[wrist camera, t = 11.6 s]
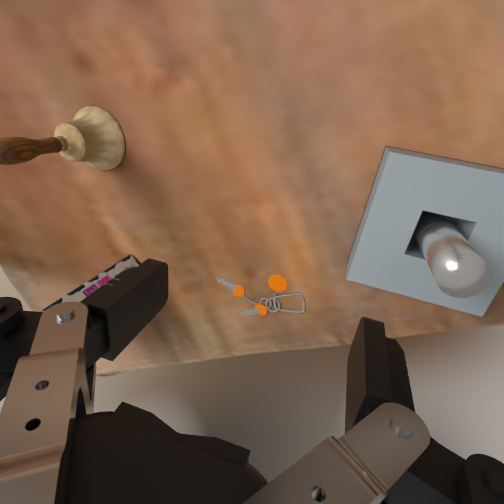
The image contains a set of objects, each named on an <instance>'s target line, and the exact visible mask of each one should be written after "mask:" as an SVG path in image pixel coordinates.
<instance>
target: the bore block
mask: <svg viewBox="0 0 504 504" xmlns="http://www.w3.org/2000/svg"><path fill="white" fill-rule="evenodd" d="M424 211H428V212H432V213H436V214H441V215H445V216H447V218H448V219H449V220H450V221H451V222H452V223H453V225H454V226H455V227H456V228H457V229H458V230H459V232H460V233H461V234H462V235H463V236H464V237H465V239H466V240H467V241H468V242H469V243H470V244H471V246H472V247H473V248H474V249H475V250H476V251H477V253H478V254H479V255H480V256H481V257H482V258H483V260H484V261H485V262H486V263H487V264H488V266H489V267H490V269H491V273H492V277H491V281H490V283H489V285H488V286H487V288H486V289H485V290H483V291H482V292H481V293H479V294H477V295H475V296H472V297H468V298H456V297H452V296H449V295H447V294H445V293H444V292H442V291H441V290H440V288H439V287H438V285H437V283H436V281H435V278H434V276H433V274H432V272H431V270H430V268H429V266H428V264H427V262H426V259H425V257H424V255H423V253H422V251H421V249H420V247H419V245H418V242H417V240H416V238H415V236H414V234H413V232H414V230H415V227H416V225H417V223H418V220H419V218H420V215H421V213H422V212H424ZM346 280H350V281H354V282H357V283H361V284H365V285H368V286H372V287H375V288H379V289H383V290H386V291H390V292H394V293H397V294H401V295H404V296H408V297H412V298H415V299H419V300H423V301H426V302H430V303H433V304H437V305H441V306H444V307H448V308H452V309H455V310H459V311H462V312H466V313H470V314H473V315H477V316H481V317H482V316H483V315H484V313H485V312H486V310H487V308H488V307H489V305H490V303H491V302H492V300H493V298H494V297H495V295H496V293H497V292H498V290H499V289H500V287H501V285H502V284H503V282H504V168H499V167H494V166H488V165H483V164H478V163H473V162H467V161H462V160H457V159H452V158H447V157H441V156H436V155H431V154H426V153H420V152H415V151H410V150H405V149H399V148H394V147H389V146H385V149H384V152H383V155H382V158H381V161H380V164H379V167H378V170H377V173H376V176H375V179H374V182H373V185H372V188H371V191H370V194H369V197H368V200H367V203H366V206H365V209H364V212H363V215H362V218H361V221H360V224H359V227H358V230H357V234H356V237H355V240H354V243H353V246H352V249H351V252H350V255H349V258H348V261H347V279H346Z"/></svg>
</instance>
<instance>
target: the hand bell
mask: <svg viewBox="0 0 504 504" xmlns="http://www.w3.org/2000/svg"><path fill="white" fill-rule="evenodd" d="M57 152H59V153H60V154H61V155H62V156H63V157H64V158H66V159H67V160H70V161H75V162H76V161H85V162H86V163H87V164H88V165H90V166H91V167H93V168H95V169H98V170H102V171H108V170H112V169H114V168H116V167H117V166H118V165H119V164H120V163H121V161H122V159H123V157H124V153H125V140H124V135H123V132H122V129H121V127H120V125H119V124H118V122H117V121H116V119H115V118H114V117H113V116H112V115H111V114H110V113H109V112H107V111H106V110H104V109H102V108H100V107H97V106H88V107H85V108H82V109H81V110H80V111H79V112H78V113H77V114H76V115H75V117H74V119H73V121H72V122H68V123H63V124H61V125H59V126H58V127H57V128H56V130H55V132H54V137H51V138H45V139H39V140H32V139H27V138H22V137H6V138H0V164H4V165H12V164H19V163H23V162H26V161H29V160H31V159H33V158H35V157H37V156H38V155H41V154H47V153H57Z"/></svg>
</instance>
